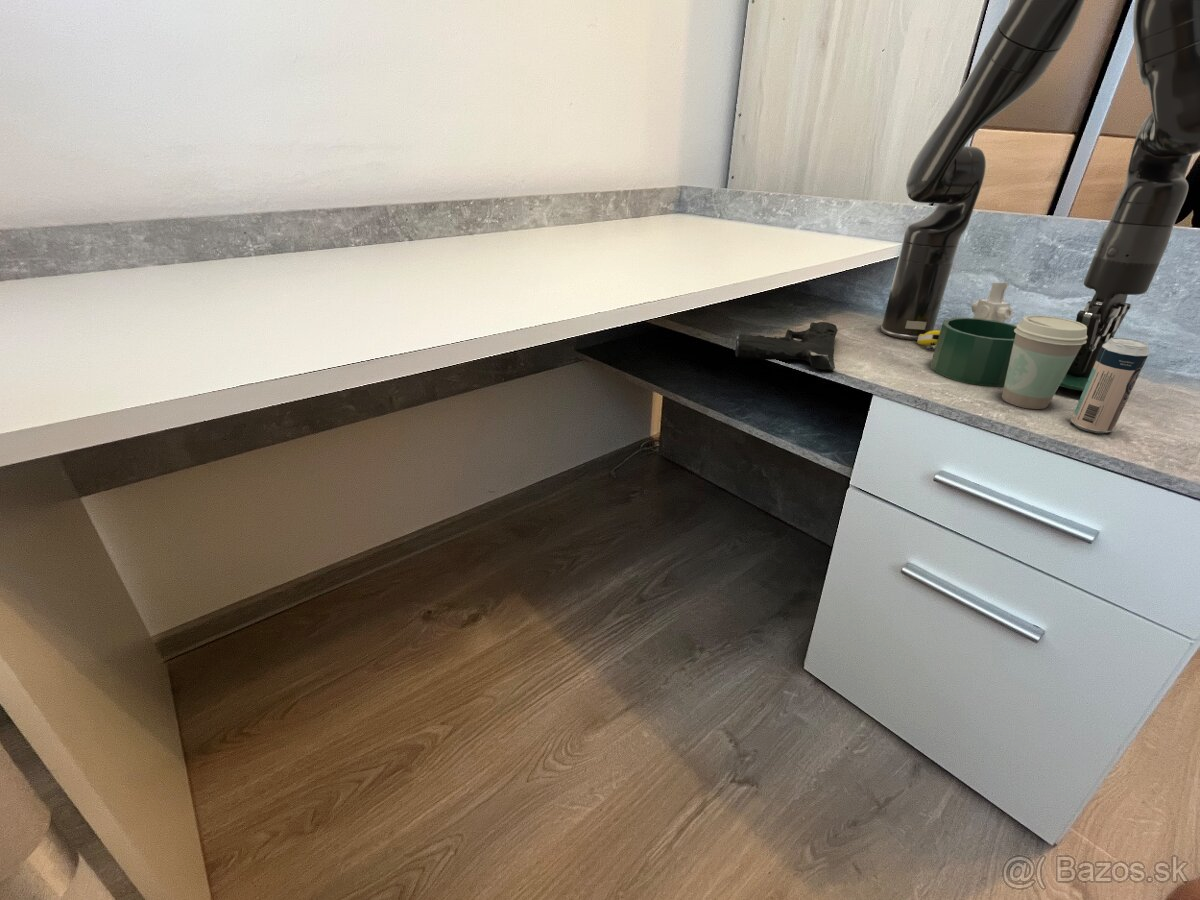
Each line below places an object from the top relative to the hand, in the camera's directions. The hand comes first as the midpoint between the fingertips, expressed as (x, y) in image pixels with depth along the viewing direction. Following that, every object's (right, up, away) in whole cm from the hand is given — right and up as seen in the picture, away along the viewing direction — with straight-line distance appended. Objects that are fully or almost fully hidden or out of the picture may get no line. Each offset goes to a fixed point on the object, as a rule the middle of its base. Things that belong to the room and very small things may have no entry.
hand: (1079, 369), depth 94 cm
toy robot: (-4, +7, +19) cm, 21 cm away
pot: (-13, 0, +6) cm, 14 cm away
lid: (0, -1, +1) cm, 1 cm away
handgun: (-33, +5, +12) cm, 36 cm away
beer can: (-9, -10, -13) cm, 18 cm away
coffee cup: (-12, -6, -5) cm, 14 cm away
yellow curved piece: (-11, +6, +17) cm, 21 cm away
